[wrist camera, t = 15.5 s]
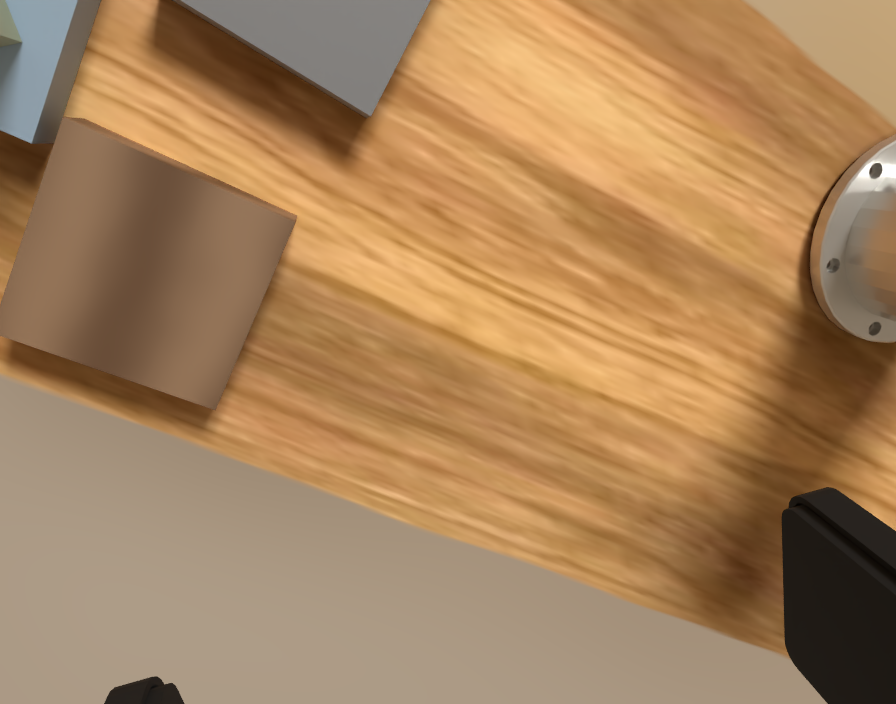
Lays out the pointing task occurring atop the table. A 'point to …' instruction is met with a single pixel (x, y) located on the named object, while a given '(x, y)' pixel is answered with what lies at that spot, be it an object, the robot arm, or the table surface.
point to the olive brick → (7, 27)
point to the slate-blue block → (42, 65)
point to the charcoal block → (323, 39)
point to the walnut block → (141, 265)
